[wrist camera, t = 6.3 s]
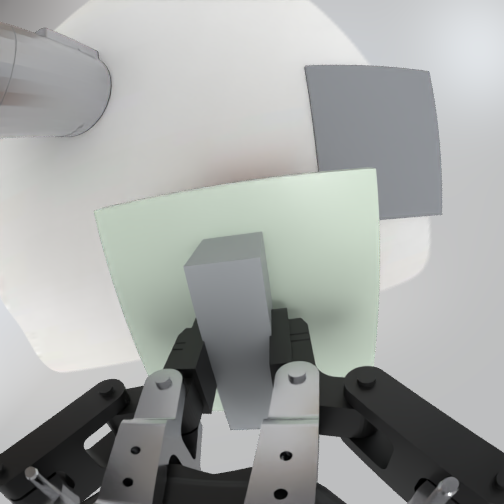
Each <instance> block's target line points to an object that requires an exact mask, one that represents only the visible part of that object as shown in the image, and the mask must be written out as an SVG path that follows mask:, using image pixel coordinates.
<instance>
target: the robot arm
mask: <svg viewBox="0 0 504 504" xmlns="http://www.w3.org/2000/svg"><path fill="white" fill-rule="evenodd" d="M110 89H111V80H110V75H109V71H108V69H107V67H106V66H105V64H104V63H103V62H101V61H100V60H99V59H98V52H97V51H96V50H94V49H92V48H90V47H88V46H86V45H84V44H82V43H80V42H77V41H75V40H73V39H71V38H69V37H67V36H64V35H62V34H60V33H58V32H55V31H53V30H51V29H48V28H41V29H39V30H38V31H36V32H35V33H34V32H30V31H28V30H25V29H22V28H19V27H16V26H13V25H10V24H6V23H3V22H0V138H16V137H45V136H55V137H63V136H75V135H79V134H81V133H83V132H85V131H87V130H88V129H89V128H91V127H92V126H93V125H94V124H95V123H96V122H97V120H98V119H99V118H100V116H101V115H102V113H103V112H104V109H105V107H106V105H107V103H108V99H109V96H110ZM271 327H272V336H270V337H269V366H270V372H271V379H272V385H273V392H272V398H271V404H270V409H269V415H268V419H264V420H263V422H262V425H261V430H260V435H259V439H258V444H257V449H256V454H255V459H254V463H253V467H250V468H245V469H240V470H235V471H231V472H225V473H219V474H210V473H206V472H203V471H201V468H200V456H201V440H202V424H201V422H200V419H201V415H202V413H203V414H211V412H212V408H213V403H214V398H215V394H216V389H217V383H216V380H215V377H214V373H213V370H212V367H211V363H210V360H209V356H208V353H207V349H206V346H205V342H204V341H202V337H201V333H200V330H199V326H198V323H197V319H196V318H195V321H194V323H193V326H192V328H186V329H184V330H183V331H182V332H181V333H180V334H179V335H178V337H177V339H176V341H175V344H174V346H173V348H172V350H171V352H170V354H169V357H168V359H167V361H166V363H165V365H164V368H163V369H162V370H158V371H156V372H154V373H152V374H151V375H150V376H149V377H148V378H147V379H146V381H145V384H144V386H141V387H135V388H130V389H125V386H124V384H123V383H122V382H121V381H119V380H117V379H109V380H104V381H102V382H100V383H98V384H97V385H96V386H94V387H93V388H91V389H90V390H89V391H87V392H86V393H85V394H84V395H82V396H81V397H79V398H78V399H76V400H75V401H74V402H72V403H71V404H70V405H68V406H67V407H65V408H64V409H63V410H61V411H60V412H59V413H57V414H56V415H55V416H53V417H52V418H51V419H49V420H48V421H46V422H45V423H43V424H42V425H41V426H39V427H38V428H37V429H35V430H34V431H32V432H31V433H30V434H28V435H27V436H25V437H24V438H23V439H21V440H20V441H18V442H17V443H16V444H14V445H13V446H11V447H10V448H9V449H7V450H6V451H4V452H3V453H1V454H0V492H1V493H2V494H4V496H5V497H6V498H7V499H9V500H10V501H11V502H12V503H13V504H346V503H345V502H344V501H342V500H341V499H340V498H338V497H337V496H336V495H335V494H333V493H332V492H331V491H330V490H328V489H327V488H326V487H324V486H322V485H321V484H319V483H317V480H318V458H319V435H328V436H336V437H341V439H342V440H343V442H344V443H345V444H346V445H347V446H348V447H349V448H350V449H351V450H352V451H353V452H354V453H355V454H356V455H357V456H358V457H359V458H360V459H361V460H362V461H363V462H364V463H365V464H366V465H367V466H368V467H370V468H371V469H372V470H373V471H374V472H375V473H376V474H377V475H378V476H379V477H380V478H381V479H382V480H383V481H384V482H385V483H386V484H388V485H389V486H390V487H391V488H392V489H393V490H394V491H395V492H396V493H397V494H398V495H400V496H401V497H402V498H403V499H404V500H405V501H406V502H407V504H504V453H503V452H502V451H500V450H499V449H497V448H496V447H494V446H493V445H491V444H490V443H488V442H487V441H485V440H484V439H482V438H480V437H479V436H477V435H476V434H474V433H473V432H471V431H470V430H469V429H467V428H465V427H464V426H463V425H461V424H459V423H458V422H456V421H455V420H453V419H452V418H451V417H449V416H448V415H446V414H445V413H443V412H442V411H440V410H439V409H437V408H436V407H435V406H433V405H432V404H430V403H429V402H427V401H426V400H424V399H423V398H421V397H420V396H418V395H417V394H416V393H414V392H413V391H411V390H410V389H408V388H407V387H405V386H404V385H403V384H401V383H400V382H398V381H397V380H395V379H394V378H393V377H391V376H390V375H388V374H387V373H386V372H384V371H383V370H381V369H379V368H377V367H373V366H362V367H357V368H355V369H353V370H351V371H350V372H349V373H347V375H346V376H345V377H334V376H329V375H326V374H324V373H322V372H321V371H320V370H319V369H318V368H317V366H316V364H315V359H314V354H313V349H312V343H311V339H310V333H309V328H308V324H307V323H306V322H305V321H304V320H303V319H302V318H295V319H288V312H287V308H278V309H271ZM105 423H107V424H108V425H109V427H110V428H111V430H112V431H111V432H109V433H108V434H107V435H106V436H105V437H103V438H102V439H101V440H100V441H99V442H97V443H96V444H95V445H94V446H92V447H91V448H90V449H87V450H85V449H84V442H85V440H86V439H87V438H88V437H89V436H91V435H92V434H93V433H94V432H96V431H97V430H98V429H99V428H101V427H102V426H103V425H104V424H105ZM99 487H101V488H100V491H99V492H98V493H96V494H95V495H93V496H91V497H90V498H88V499H86V498H87V497H89V496H90V495H91V494H92V493H93V492H95V491H96V490H97V489H98V488H99ZM85 499H86V500H85ZM84 500H85V501H84ZM82 501H83V502H82Z"/></svg>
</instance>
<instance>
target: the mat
mask: <svg viewBox="0 0 504 504" xmlns="http://www.w3.org/2000/svg"><path fill="white" fill-rule="evenodd" d="M305 73H306V79H307V86H308V92H309V99H310V106H311V113H312V120H313V128H314V136H315V144H316V153H317V162H318V171H319V172H320V171H331V170H342V169H354V168H367V167H370V168H376V175H377V188H378V204H379V220H384V219H395V218H407V217H419V216H432V215H442V175H441V174H442V173H441V154H440V142H439V131H438V123H437V114H436V107H435V101H434V94H433V88H432V83H431V78H430V73H429V71H423V70H415V69H407V68H397V67H384V66H366V65H311V66H305Z"/></svg>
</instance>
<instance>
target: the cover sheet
mask: <svg viewBox="0 0 504 504" xmlns="http://www.w3.org/2000/svg"><path fill="white" fill-rule="evenodd" d="M94 215H95V219H96V223H97V227H98V231H99V235H100V239H101V243H102V247H103V250H104V254H105V258H106V261H107V265H108V268H109V271H110V275H111V278H112V281H113V284H114V287H115V290H116V293H117V296H118V299H119V302H120V305H121V308H122V311H123V314H124V317H125V319H126V322H127V325H128V327H129V330H130V333H131V335H132V338H133V340H134V343H135V345H136V348H137V350H138V353H139V355H140V358H141V360H142V362H143V365H144V367H145V369H146V371H147V374H148V376H150V375H151V374H152V373H154V372H156V371H158V370H162V369H163V368H164V365H165V363H166V361H167V359H168V357H169V354H170V352H171V350H172V348H173V346H174V344H175V341H176V339H177V337H178V335H179V334H180V333H181V332H182V331H183V330H184V329H186V328H192V326H193V323H194V321H195V318H196V319H197V323H198V326H199V330H200V333H201V337H202V341H204V342H205V346H206V349H207V353H208V356H209V360H210V363H211V367H212V370H213V373H214V377H215V380H216V383H217V389H216V394H215V398H214V403H213V408H212V411H224V412H225V415H226V418H227V421H228V424H229V427H230V429H231V430H248V429H261V425H262V422H263V420H264V419H268V415H269V409H270V404H271V398H272V392H273V385H272V379H271V372H270V366H269V337H270V336H272V327H271V309H278V308H287V312H288V319H295V318H302V319H303V320H304V321H305V322H306V323H307V324H308V328H309V333H310V339H311V343H312V349H313V354H314V359H315V364H316V366H317V368H318V369H319V370H320V371H321V372H322V373H324V374H326V375H329V376H334V377H345V376H346V375H347V373H349V372H350V371H351V370H353V369H355V368H357V367H362V366H373V367H374V358H375V348H376V337H377V324H378V308H379V284H380V228H379V204H378V188H377V175H376V168H370V167H367V168H354V169H342V170H331V171H320V172H310V173H301V174H292V175H284V176H276V177H268V178H261V179H253V180H246V181H240V182H233V183H227V184H220V185H214V186H208V187H202V188H196V189H191V190H185V191H180V192H174V193H169V194H164V195H159V196H154V197H149V198H144V199H139V200H135V201H130V202H125V203H121V204H117V205H112V206H108V207H104V208H101V209H98V210H96V211H94Z"/></svg>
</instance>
